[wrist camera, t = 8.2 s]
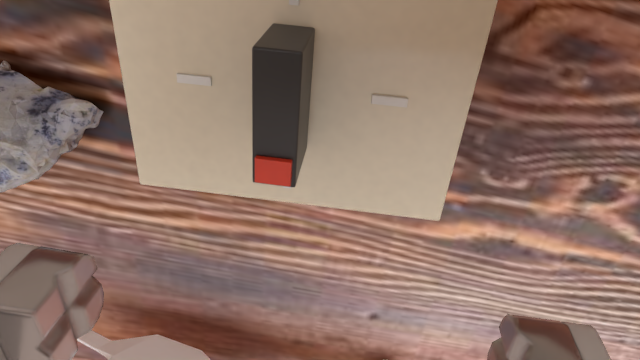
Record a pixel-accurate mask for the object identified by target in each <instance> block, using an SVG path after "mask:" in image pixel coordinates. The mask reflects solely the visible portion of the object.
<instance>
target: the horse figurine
mask: <svg viewBox="0 0 640 360" xmlns="http://www.w3.org/2000/svg"><path fill="white" fill-rule="evenodd" d="M77 341H79V342H81V343H82V344H84V345H86V346H88V347H90V348H92V349H94V350H95V351H97V352H99V353H100V354H102V355H103V356H105V357H106V358H108V360H211V359H210V358H209V357H208V356H207V355H206V354H205V353H204V352H203V351H202V350H199V349H196V348H194V347H191V346H188V345H186V344H183V343H180V342H177V341H175V340H172V339H169V338H166V337H164V336H161V335H158V334H156V335H150V336H143V337H136V338H129V339H122V340H115V341H111V340H109V339H107V338H106V337H104V336H102V335H100V334H98V333H96V332H94V331H92V330H91V331H89V332H88V333H86V334H84V335H83V336H81V337H79V338H78V339H77ZM71 360H72V359H71ZM383 360H384V359H383ZM385 360H388V359H385Z"/></svg>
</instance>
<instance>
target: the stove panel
mask: <svg viewBox="0 0 640 360" xmlns="http://www.w3.org/2000/svg"><path fill="white" fill-rule="evenodd" d="M109 2H110V8H111V14H112V20H113V26H114V32H115V38H116V44H117V50H118V56H119V62H120V68H121V74H122V80H123V86H124V91H125V97H126V103H127V109H128V115H129V121H130V127H131V133H132V139H133V145H134V151H135V157H136V163H137V169H138V175H139V181H140V184H143V185H151V186H159V187H167V188H175V189H184V190H192V191H200V192H208V193H216V194H224V195H232V196H240V197H249V198H257V199H265V200H273V201H281V202H289V203H297V204H305V205H313V206H322V207H330V208H338V209H346V210H354V211H362V212H370V213H378V214H387V215H395V216H403V217H411V218H419V219H427V220H435V221H439V220H440V217H441V213H442V209H443V205H444V202H445V198H446V194H447V190H448V187H449V183H450V179H451V175H452V172H453V168H454V164H455V160H456V156H457V153H458V149H459V145H460V141H461V138H462V134H463V130H464V126H465V123H466V119H467V115H468V111H469V108H470V104H471V100H472V96H473V92H474V89H475V85H476V81H477V77H478V74H479V70H480V66H481V62H482V59H483V55H484V51H485V47H486V43H487V40H488V36H489V32H490V28H491V25H492V21H493V17H494V13H495V10H496V6H497V2H498V0H109ZM273 23H276V24H285V25H294V26H304V27H313V28H315V38H314V52H313V67H312V81H311V96H310V110H309V125H308V139H307V149H306V152H305V155H304V159H303V162H302V166H301V169H300V172H299V176H298V179H297V183H296V186H295V187H286V186H278V185H270V184H262V183H254V182H253V170H252V47H253V46H254V45H255V43H256V42H257V41H258V40H259V39H260V38H261V37H262V35H263V34H264V33H265V32H266V31H267V30H268V28H269V27H270V26H271V25H272V24H273Z"/></svg>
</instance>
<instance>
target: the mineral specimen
mask: <svg viewBox="0 0 640 360" xmlns="http://www.w3.org/2000/svg"><path fill="white" fill-rule="evenodd" d="M102 114H103V111H101V110H99V109H98V108H97V107H96V106H95V105H94V104H92V103H91V102H89V101H86V100H81V99H79V98H77V97H74V96H72V95H70V94H69V93H66V92H63V91H60V90H57V89H54V88H51V87H46V88H44V89H42V88H41V87H40V86H38V85H37V84H35V83H34V82H33V81H31V80H30V79H28V78H27V77H25V76H24V75H22V74H20V73H18V72H16V71H13V70H11V67H10V65H9V63H8V62H6V61H3V62H2V63H1V64H0V192H4V191H6V190H9V189H12V188H15V187H17V186H19V185H22V184H25V183H28V182H30V181H32V180H35V179H39V178H40V177H41V176H42V175H43V174H44V173H45V172H46V171H48V170H50V168H51V167H52V166H53V165H54V164H55V163H56V162H57V160H58V159H59V157H60V156H61V154H63V153H65V152H70V151H72V150H73V149H74V148H75V147H76V146H78V143H79V140H80V139H81V138H82V136H83V133H84V131H85V129H87V128H96V127H97V126H98V125H99V122H100V117H101V115H102Z"/></svg>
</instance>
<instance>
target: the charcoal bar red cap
mask: <svg viewBox="0 0 640 360" xmlns="http://www.w3.org/2000/svg"><path fill="white" fill-rule="evenodd" d="M314 38H315V28H313V27H304V26H294V25H285V24H276V23H273V24H272V25H271V26H270V27H269V28H268V30H267V31H266V32H265V33H264V34H263V35H262V37H261V38H260V39H259V40H258V41H257V42H256V43H255V45H254V46H253V47H252V170H253V182H254V183H262V184H270V185H278V186H286V187H295V186H296V183H297V179H298V176H299V172H300V169H301V166H302V162H303V159H304V155H305V152H306V149H307V139H308V125H309V110H310V96H311V81H312V67H313V52H314Z"/></svg>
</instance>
